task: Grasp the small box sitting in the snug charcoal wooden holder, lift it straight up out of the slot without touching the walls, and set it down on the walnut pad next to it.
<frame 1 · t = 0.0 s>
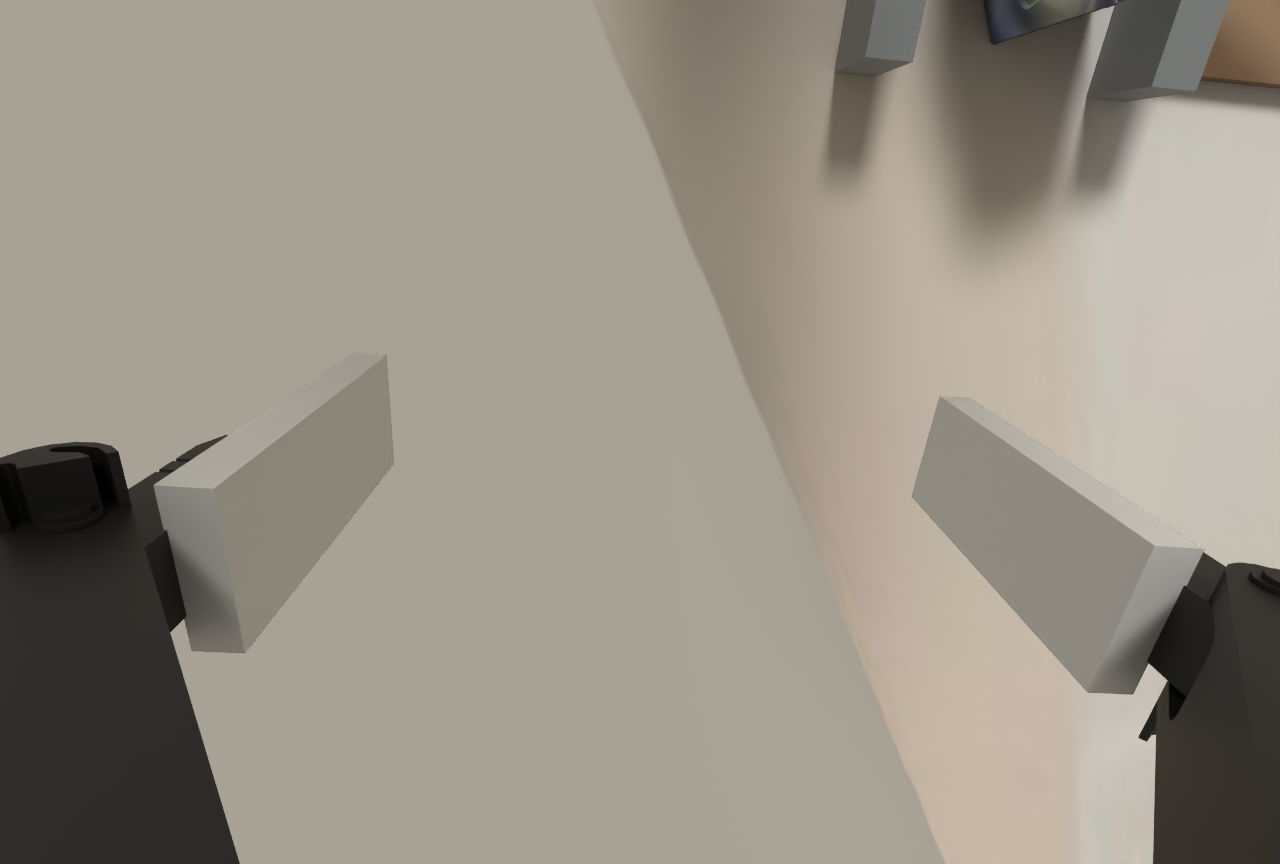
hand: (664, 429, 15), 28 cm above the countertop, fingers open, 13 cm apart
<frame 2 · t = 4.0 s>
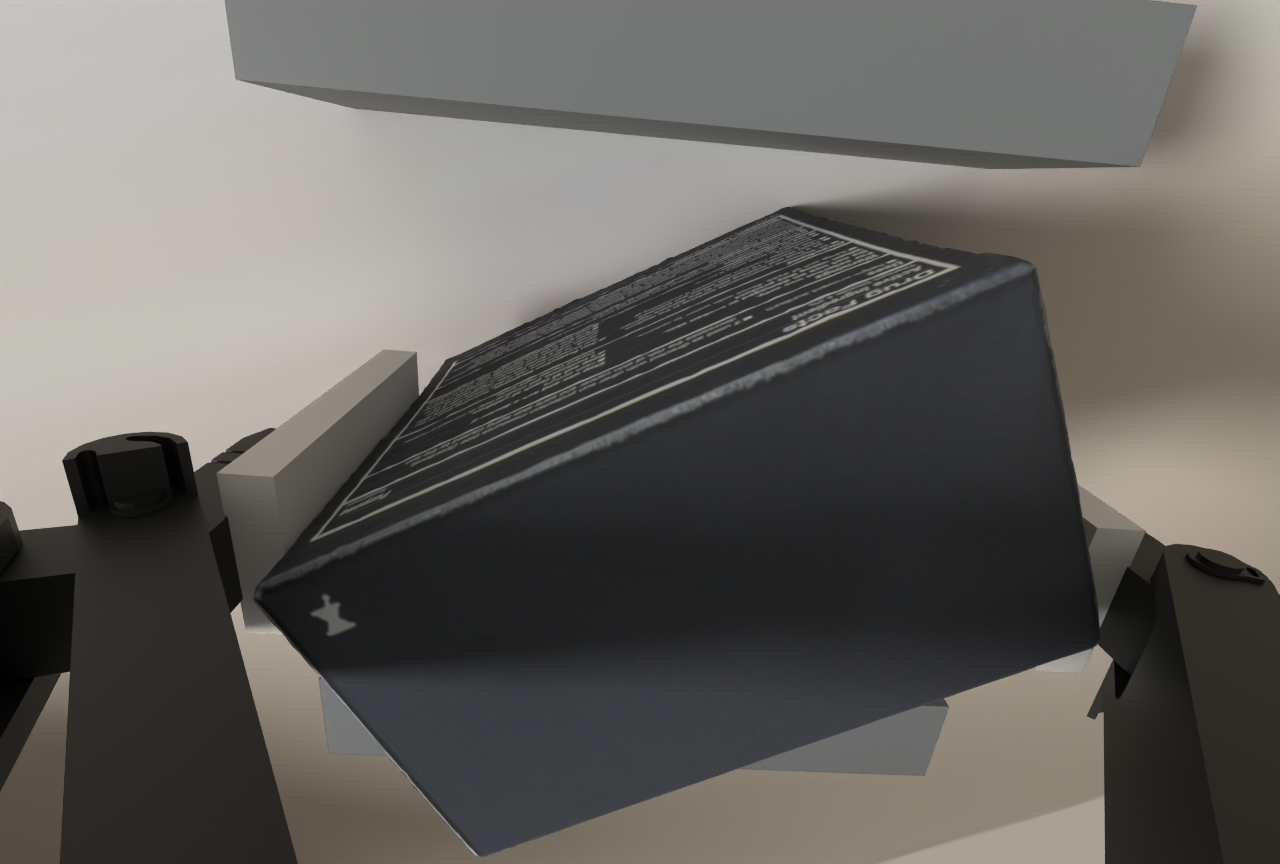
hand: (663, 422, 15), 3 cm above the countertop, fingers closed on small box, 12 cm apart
small box: (655, 384, 18), on the countertop, touching gripper
holder: (656, 387, 18), on the countertop
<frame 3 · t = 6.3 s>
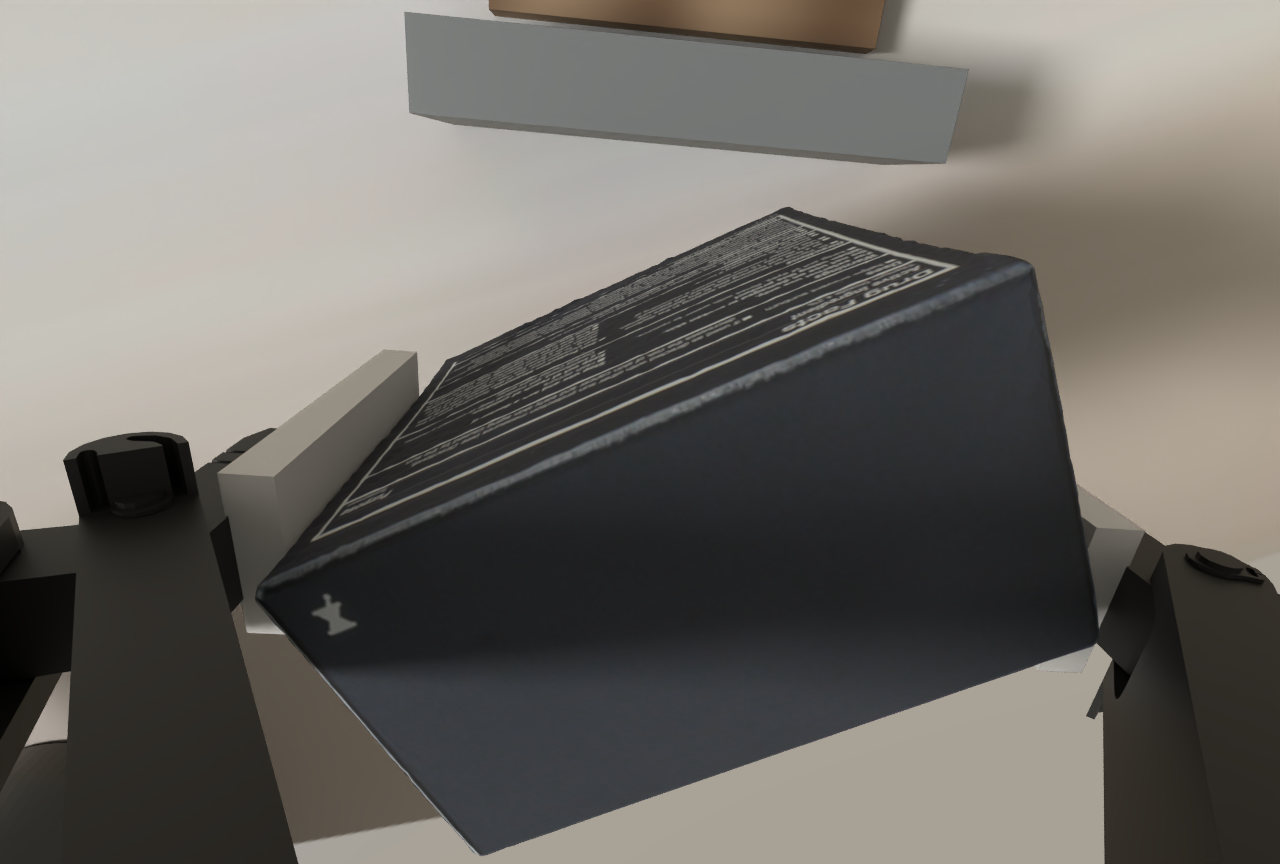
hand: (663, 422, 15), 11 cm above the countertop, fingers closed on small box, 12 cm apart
small box: (655, 384, 18), point 8 cm above the countertop, touching gripper
holder: (655, 318, 26), on the countertop
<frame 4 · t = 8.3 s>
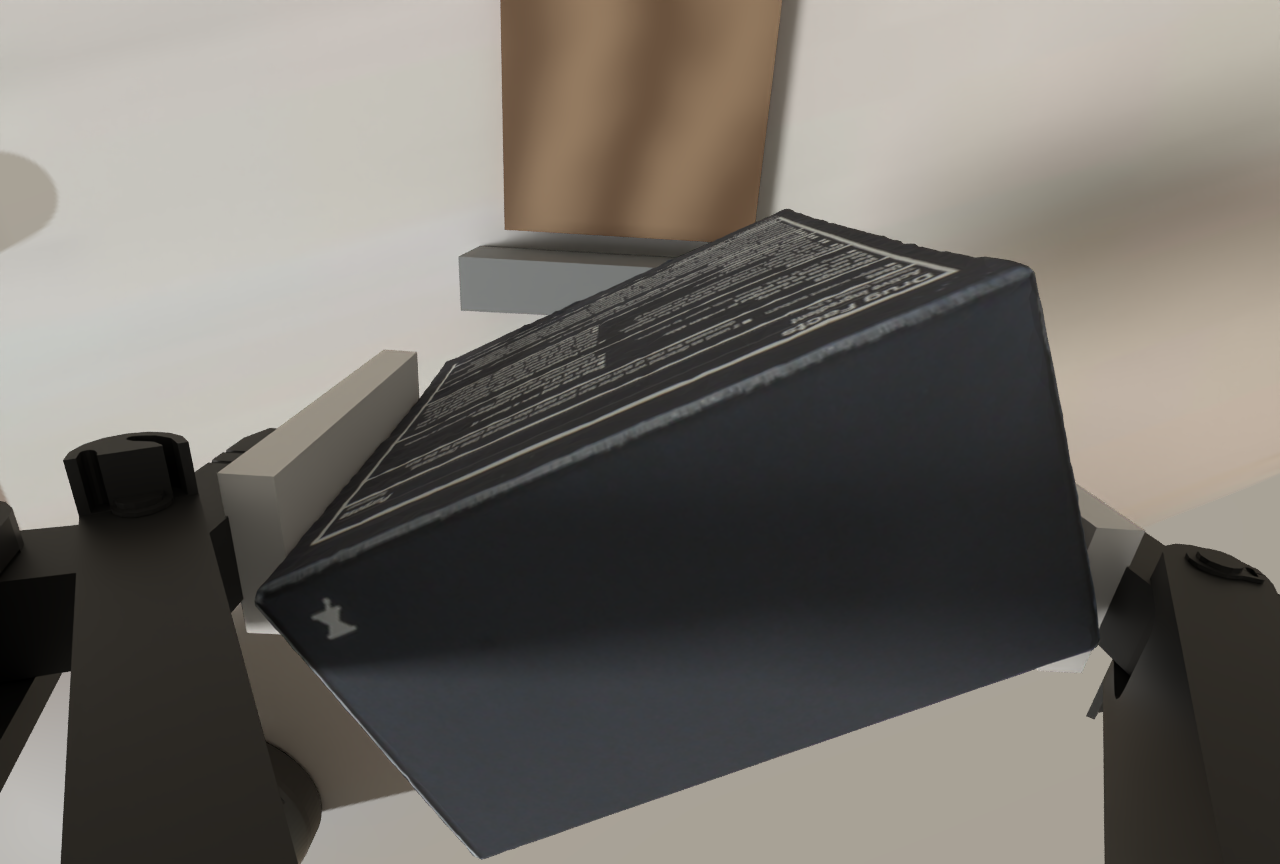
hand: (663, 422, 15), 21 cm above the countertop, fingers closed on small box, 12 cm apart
small box: (655, 386, 18), point 18 cm above the countertop, touching gripper
holder: (620, 410, 38), on the countertop
walnut pad: (637, 77, 31), on the countertop
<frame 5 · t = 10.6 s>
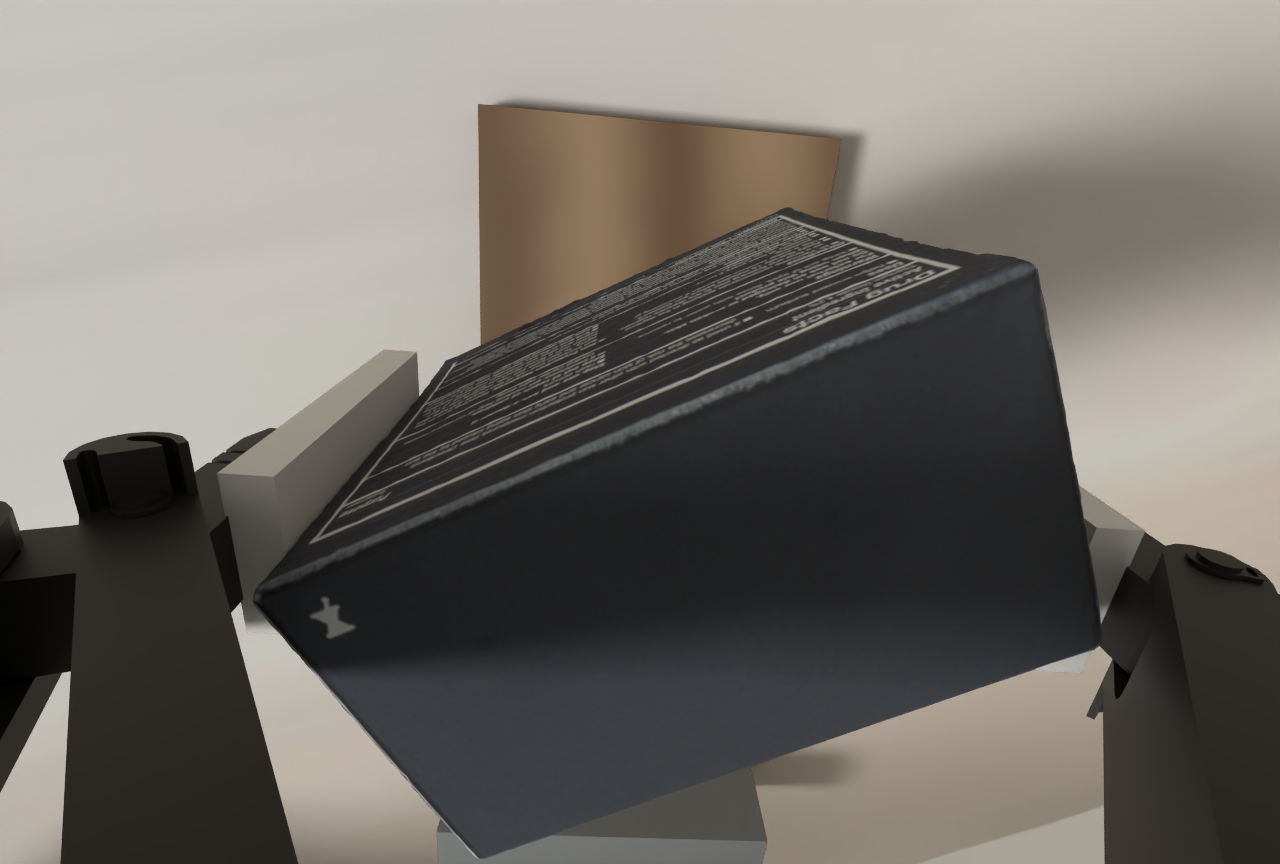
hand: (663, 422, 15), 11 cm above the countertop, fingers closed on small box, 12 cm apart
small box: (655, 385, 18), point 8 cm above the countertop, touching gripper
holder: (614, 657, 33), on the countertop
walnut pad: (643, 324, 26), on the countertop
when the fingers open (6 cm above the countertop, at t = 12.7 s): small box drops 2 cm, resting on walnut pad.
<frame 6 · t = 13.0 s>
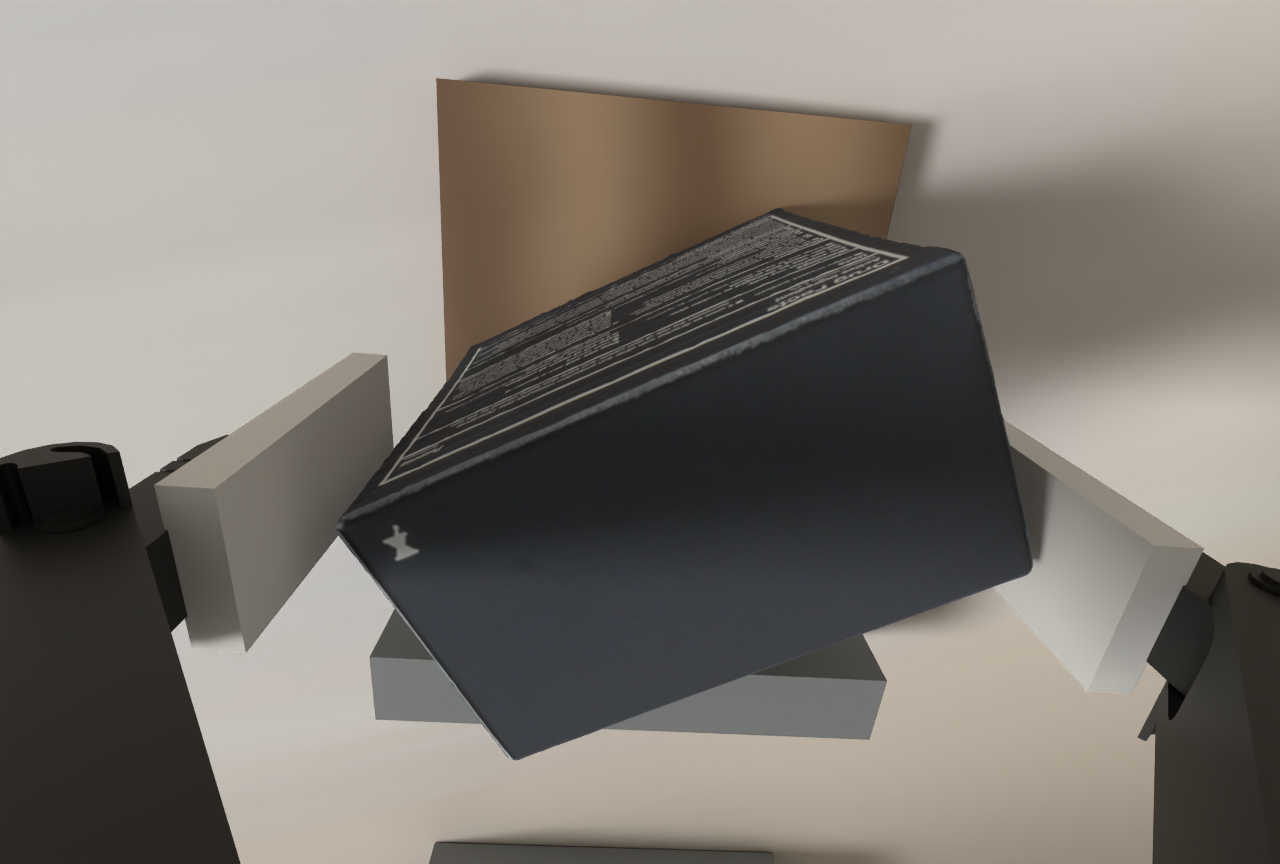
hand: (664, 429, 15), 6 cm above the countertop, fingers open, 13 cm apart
small box: (659, 369, 20), point 1 cm above the countertop, touching walnut pad
holder: (615, 747, 27), on the countertop
walnut pad: (652, 358, 21), on the countertop
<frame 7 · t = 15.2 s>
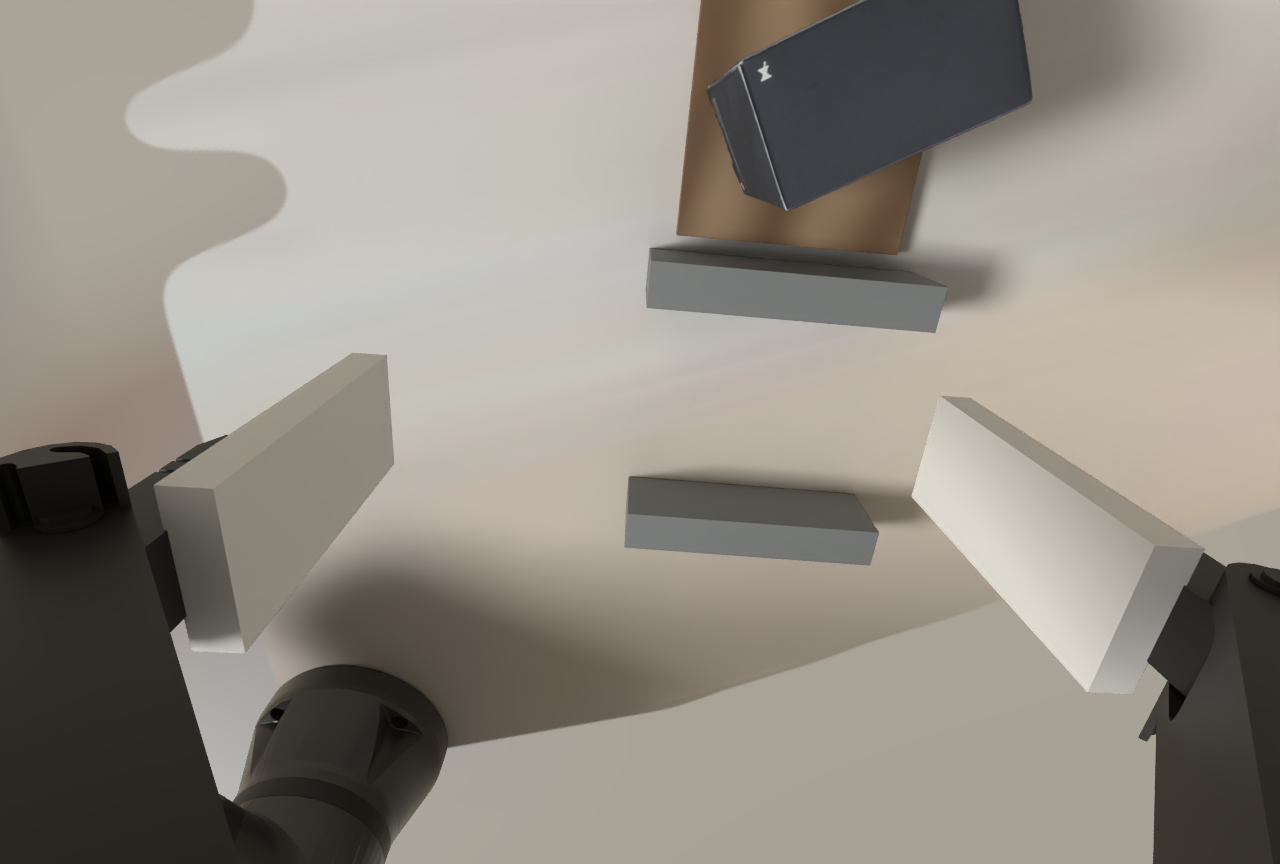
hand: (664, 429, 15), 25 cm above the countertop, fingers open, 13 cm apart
small box: (815, 104, 34), point 1 cm above the countertop, touching walnut pad
holder: (757, 399, 42), on the countertop
walnut pad: (808, 102, 35), on the countertop
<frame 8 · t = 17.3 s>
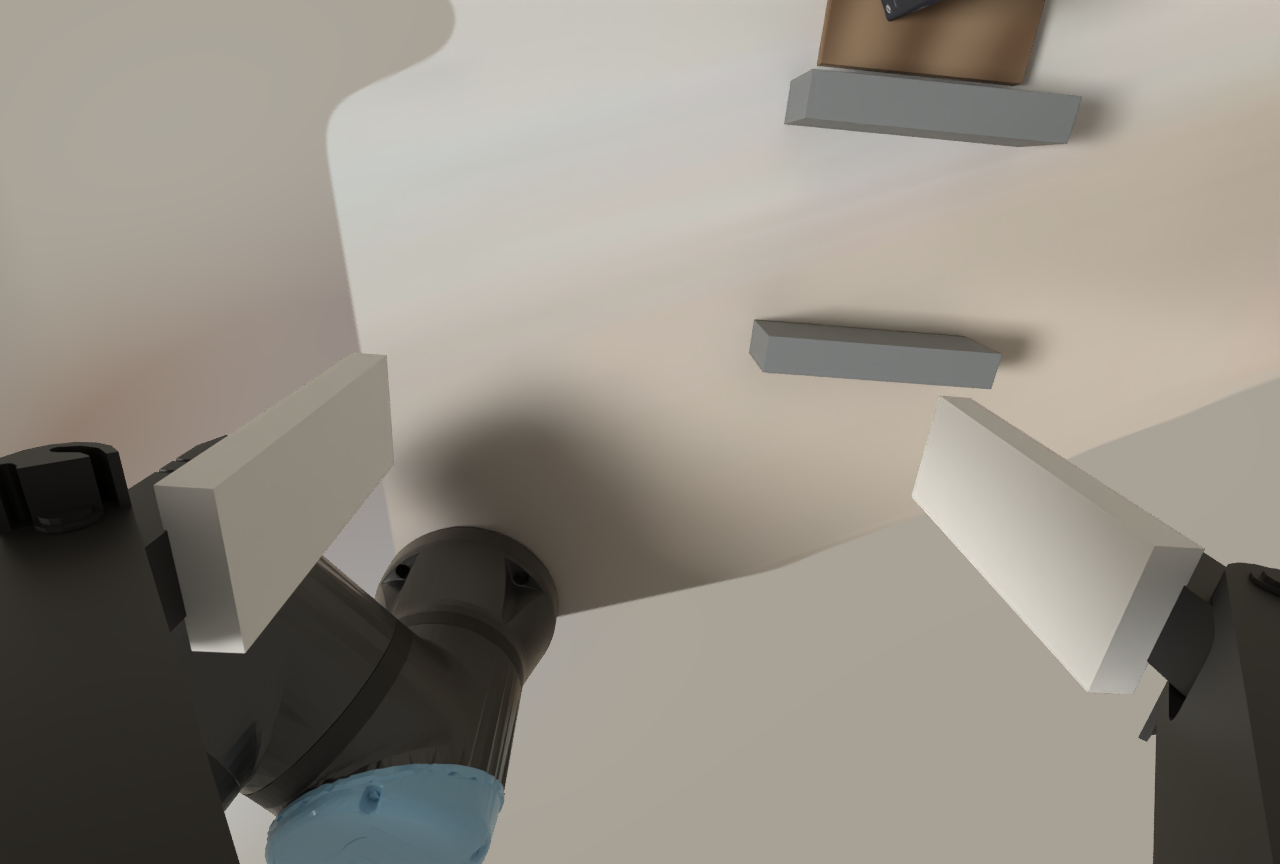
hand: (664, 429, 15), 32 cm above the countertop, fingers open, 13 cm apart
holder: (880, 237, 44), on the countertop
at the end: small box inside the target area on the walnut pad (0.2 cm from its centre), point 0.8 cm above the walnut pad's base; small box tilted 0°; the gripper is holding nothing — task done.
